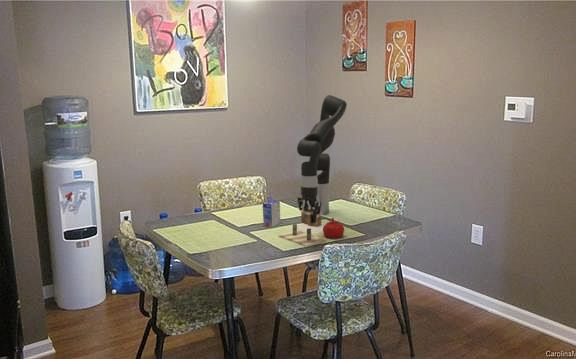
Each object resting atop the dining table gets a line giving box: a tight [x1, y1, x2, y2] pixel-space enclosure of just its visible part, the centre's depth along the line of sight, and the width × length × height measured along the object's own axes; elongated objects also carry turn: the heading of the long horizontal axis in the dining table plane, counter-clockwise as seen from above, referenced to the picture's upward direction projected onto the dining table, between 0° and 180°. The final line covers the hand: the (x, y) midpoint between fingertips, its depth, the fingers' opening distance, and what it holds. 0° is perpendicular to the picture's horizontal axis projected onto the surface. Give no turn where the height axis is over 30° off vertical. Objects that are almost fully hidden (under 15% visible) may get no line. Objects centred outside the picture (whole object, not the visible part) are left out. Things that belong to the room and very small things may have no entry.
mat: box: [297, 223, 325, 235], centre depth 268 cm, size 16×14×1 cm
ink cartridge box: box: [262, 196, 281, 228], centre depth 274 cm, size 10×6×14 cm, turn 155°
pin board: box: [277, 223, 327, 248], centre depth 250 cm, size 20×12×6 cm, turn 40°
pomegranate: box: [322, 217, 345, 239], centre depth 253 cm, size 10×10×9 cm
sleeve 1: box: [300, 208, 317, 225], centre depth 244 cm, size 5×5×6 cm
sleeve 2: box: [308, 213, 323, 227], centre depth 272 cm, size 5×5×6 cm
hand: (309, 221), depth 244 cm, fingers closed on sleeve 1, 5 cm apart
